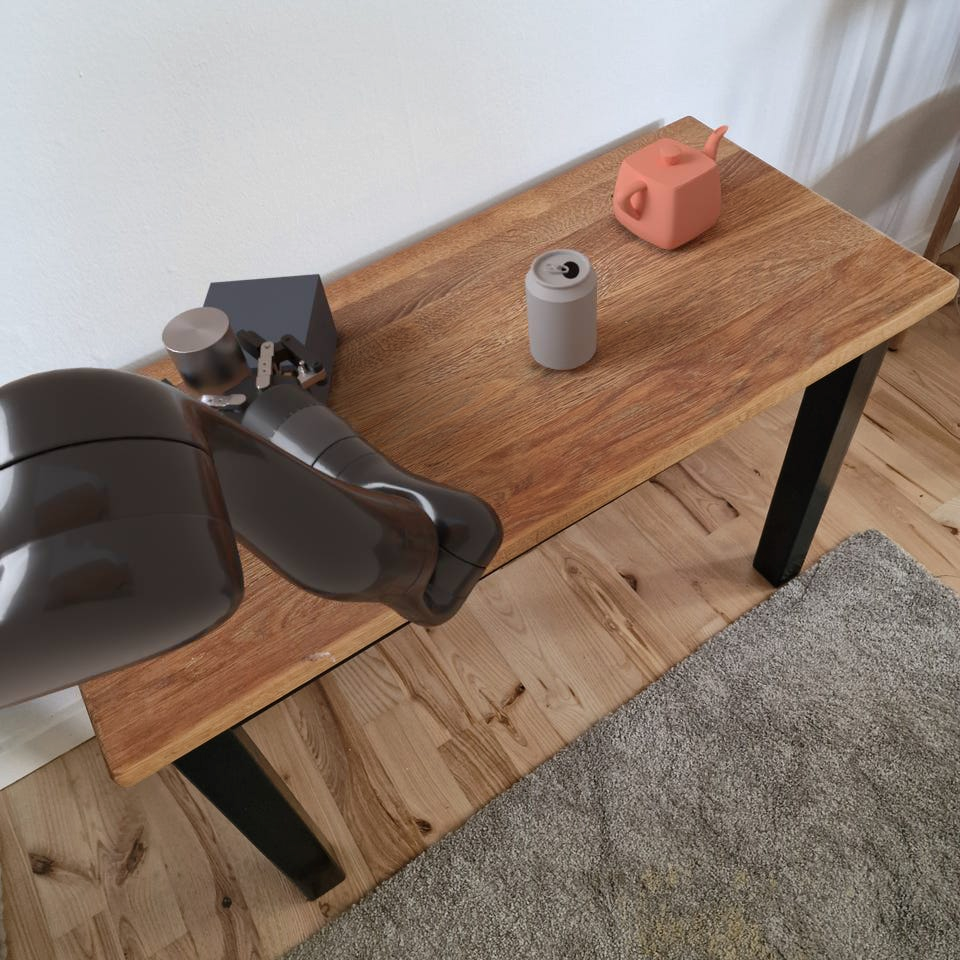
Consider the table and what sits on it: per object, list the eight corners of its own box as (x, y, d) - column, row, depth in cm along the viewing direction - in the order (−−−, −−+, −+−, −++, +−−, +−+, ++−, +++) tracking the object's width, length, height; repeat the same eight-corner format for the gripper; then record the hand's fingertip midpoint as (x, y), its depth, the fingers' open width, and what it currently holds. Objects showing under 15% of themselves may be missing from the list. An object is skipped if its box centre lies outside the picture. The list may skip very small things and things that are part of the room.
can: (598, 373, 91) (600, 286, 82) (530, 377, 92) (524, 291, 82) (594, 327, 96) (594, 240, 86) (529, 332, 96) (523, 245, 87)
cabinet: (323, 424, 90) (301, 364, 83) (212, 432, 91) (180, 372, 84) (338, 335, 100) (319, 273, 92) (236, 342, 101) (210, 282, 93)
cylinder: (221, 476, 85) (153, 354, 71) (232, 433, 88) (170, 309, 75) (278, 473, 84) (221, 349, 71) (287, 429, 88) (234, 304, 74)
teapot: (586, 232, 107) (586, 158, 99) (687, 176, 113) (695, 102, 105) (648, 272, 101) (654, 197, 93) (751, 211, 106) (765, 135, 98)
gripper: (361, 368, 69) (252, 291, 77) (221, 468, 64) (119, 374, 72) (378, 428, 75) (275, 350, 83) (252, 524, 70) (154, 431, 78)
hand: (203, 361), depth 78 cm, fingers open, 8 cm apart
